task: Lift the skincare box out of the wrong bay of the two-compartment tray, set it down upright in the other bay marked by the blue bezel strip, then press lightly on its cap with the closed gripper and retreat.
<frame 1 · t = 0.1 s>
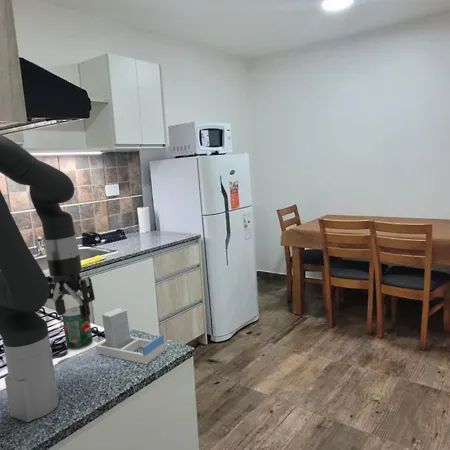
hand: (73, 316, 101), 17 cm above the worktop, tool pointing down, fingers open, 8 cm apart
skincare box: (119, 350, 119), resting in two-compartment tray
canned tomato: (79, 344, 126), on the worktop
two-compartment tray: (130, 352, 117), on the worktop
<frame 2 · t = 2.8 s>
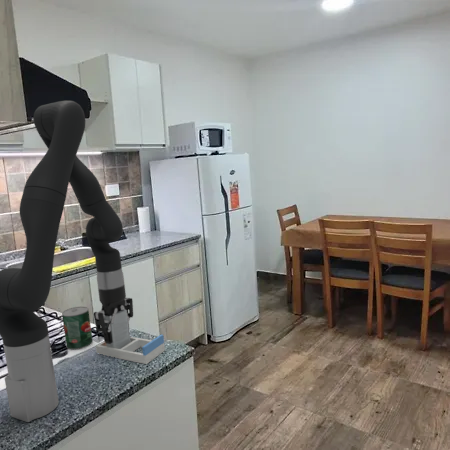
hand: (117, 337, 119), 4 cm above the worktop, tool pointing down, fingers closed on skincare box, 6 cm apart
skincare box: (119, 350, 119), resting in two-compartment tray, touching gripper
everything else where it was.
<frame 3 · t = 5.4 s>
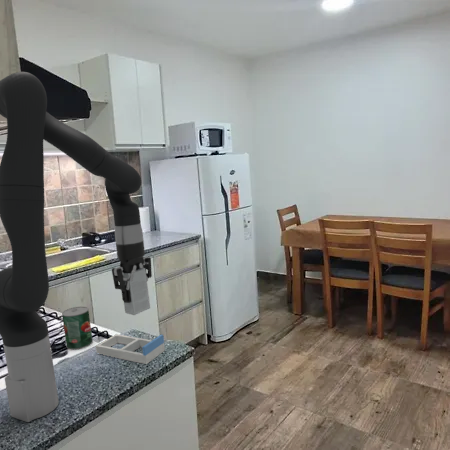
hand: (136, 298, 113), 17 cm above the worktop, tool pointing down, fingers closed on skincare box, 6 cm apart
skincare box: (137, 311, 113), point 13 cm above the worktop, touching gripper
everything else where it was.
when the fingers open (5 cm above the worktop, at t = 8.1 s): skincare box stays where it is, resting in two-compartment tray.
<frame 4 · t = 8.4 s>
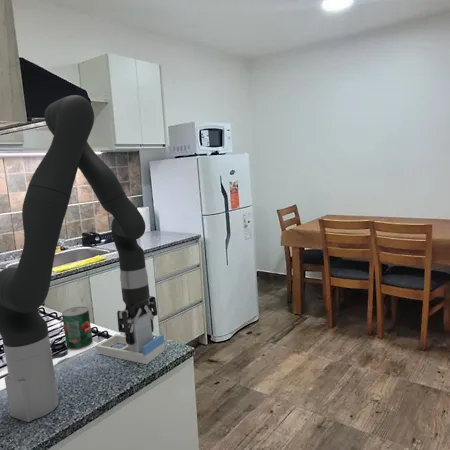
hand: (140, 338, 114), 5 cm above the worktop, tool pointing down, fingers open, 8 cm apart
skincare box: (142, 355, 115), resting in two-compartment tray
everything else where it was.
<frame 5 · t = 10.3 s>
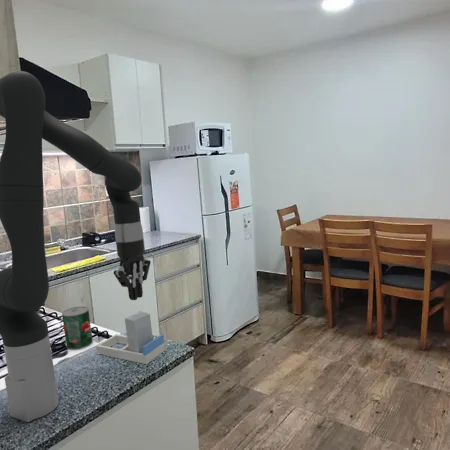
hand: (136, 298, 113), 17 cm above the worktop, tool pointing down, fingers closed
nothing on the worktop moved.
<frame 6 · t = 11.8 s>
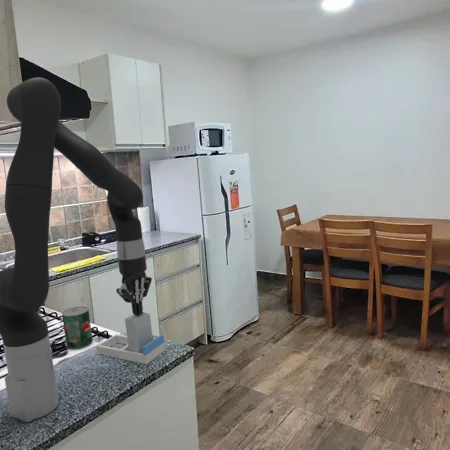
hand: (138, 314, 113), 12 cm above the worktop, tool pointing down, fingers closed
nothing on the worktop moved.
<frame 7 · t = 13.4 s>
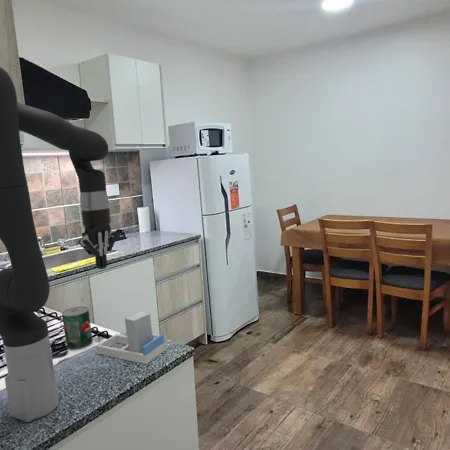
hand: (102, 268, 113), 26 cm above the worktop, tool pointing down, fingers closed
nothing on the worktop moved.
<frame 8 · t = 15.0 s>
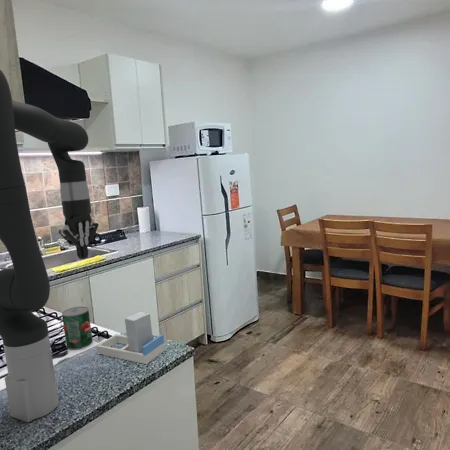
hand: (83, 258, 114), 29 cm above the worktop, tool pointing down, fingers closed
nothing on the worktop moved.
at the end: skincare box inside the target area (0.3 cm from its centre), resting in two-compartment tray; skincare box tilted 0°; the gripper is holding nothing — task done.
